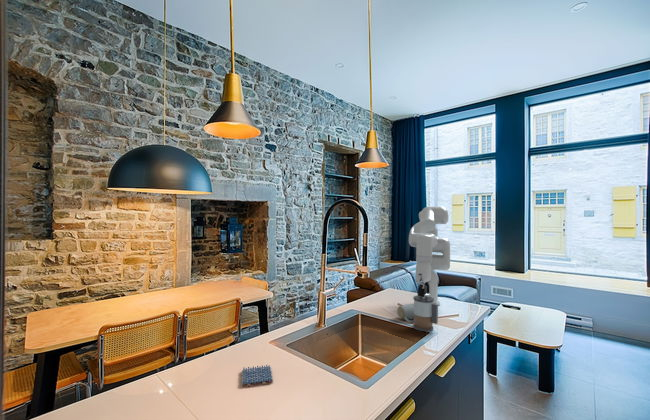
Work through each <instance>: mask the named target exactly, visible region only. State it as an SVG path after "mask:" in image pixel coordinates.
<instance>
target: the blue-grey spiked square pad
mask: <svg viewBox="0 0 650 420" xmlns="http://www.w3.org/2000/svg"><path fill="white" fill-rule="evenodd" d="M241 373H242V374H241V379H240V380H241V384H240V385H241V387H242V388H243V389H244V388H248V387H250V388H251V387H256V386H257V387H258V386H265V385H271V384H274V376H273V371H272V367H271V365H268V364H266V365H262V364H261V366H259V365H257V366H252V367H250V366H247V367H245V366H244V367H243V369H242V370H241Z"/></svg>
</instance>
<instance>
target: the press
mask: <svg viewBox="0 0 650 420" xmlns="http://www.w3.org/2000/svg"><path fill="white" fill-rule="evenodd" d="M412 297H413V298H412V300H413V305H414V319H413V321H414V323H412V324H413V325H412V327H413V326H414V327H413V329H414V328H415V329H414V330H416V331H419V332H423V331H430V332H433V331H434V326H433V325H436V324H438V323H439V306H438V304H434V303H433V302H434V298H432V297H425V299H422V297H421V296H418V295H417V294H416V295H414V296H412Z"/></svg>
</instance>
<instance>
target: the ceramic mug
mask: <svg viewBox="0 0 650 420" xmlns="http://www.w3.org/2000/svg"><path fill="white" fill-rule="evenodd" d="M396 313H397V316H398V317H399V319H400V320H403V321H404V320H405V322H408V323H409V324H414V303H409V304H403V305H399V306H398V308H397V311H396Z"/></svg>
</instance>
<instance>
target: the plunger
mask: <svg viewBox="0 0 650 420" xmlns="http://www.w3.org/2000/svg"><path fill="white" fill-rule="evenodd" d="M424 289H425V296H424V297H422V299H425V297H429V296H430V293H427V285H424ZM416 295H418V292H417V294H416Z"/></svg>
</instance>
